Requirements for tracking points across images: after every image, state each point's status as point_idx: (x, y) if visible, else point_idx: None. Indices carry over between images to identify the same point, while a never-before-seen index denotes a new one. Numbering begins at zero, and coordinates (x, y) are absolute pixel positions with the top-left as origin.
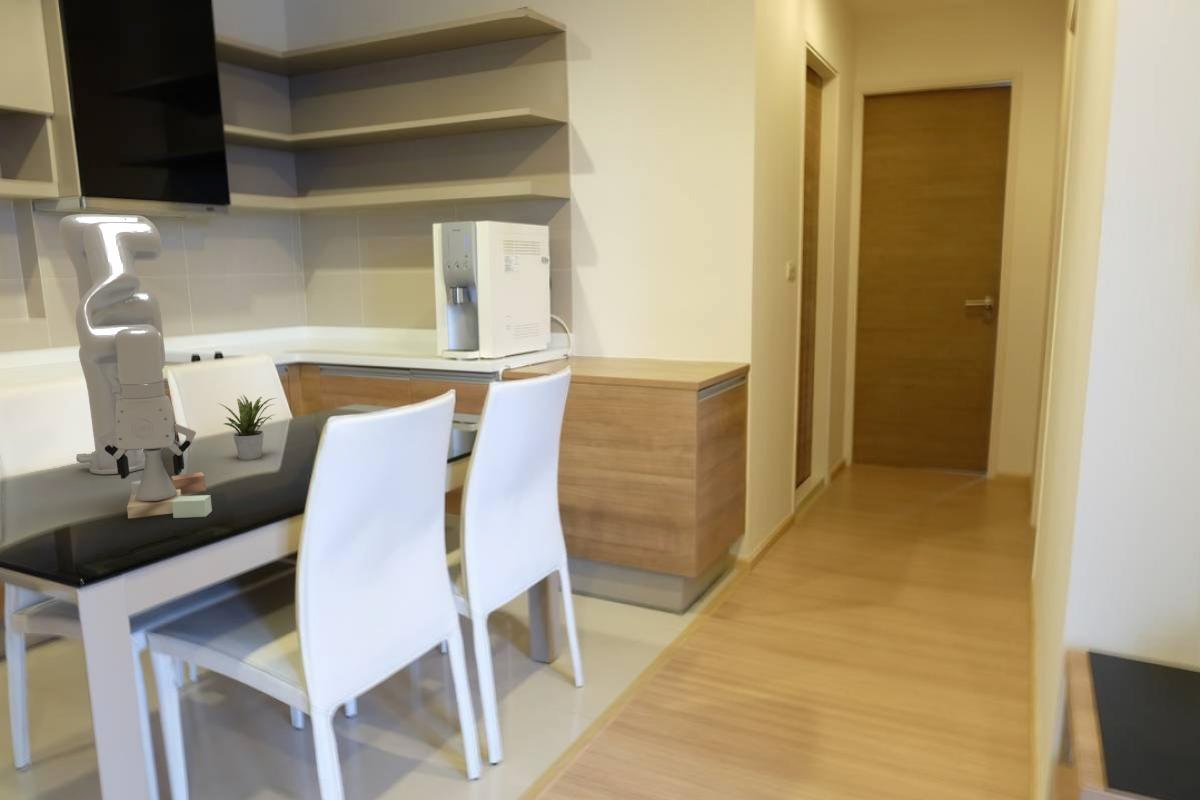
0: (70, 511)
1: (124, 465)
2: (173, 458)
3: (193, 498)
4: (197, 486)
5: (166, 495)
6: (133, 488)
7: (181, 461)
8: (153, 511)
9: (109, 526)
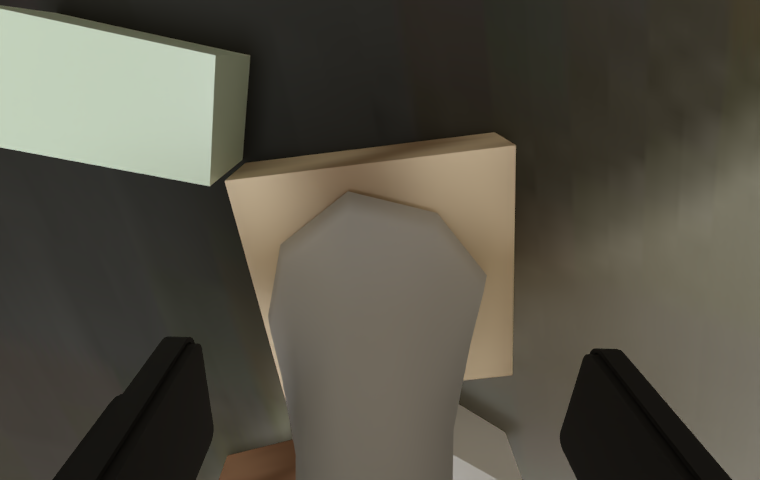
0: (740, 334)
1: (646, 453)
2: (111, 475)
3: (78, 92)
4: (250, 469)
5: (302, 240)
6: (510, 467)
7: (74, 453)
8: (371, 151)
9: (582, 5)
